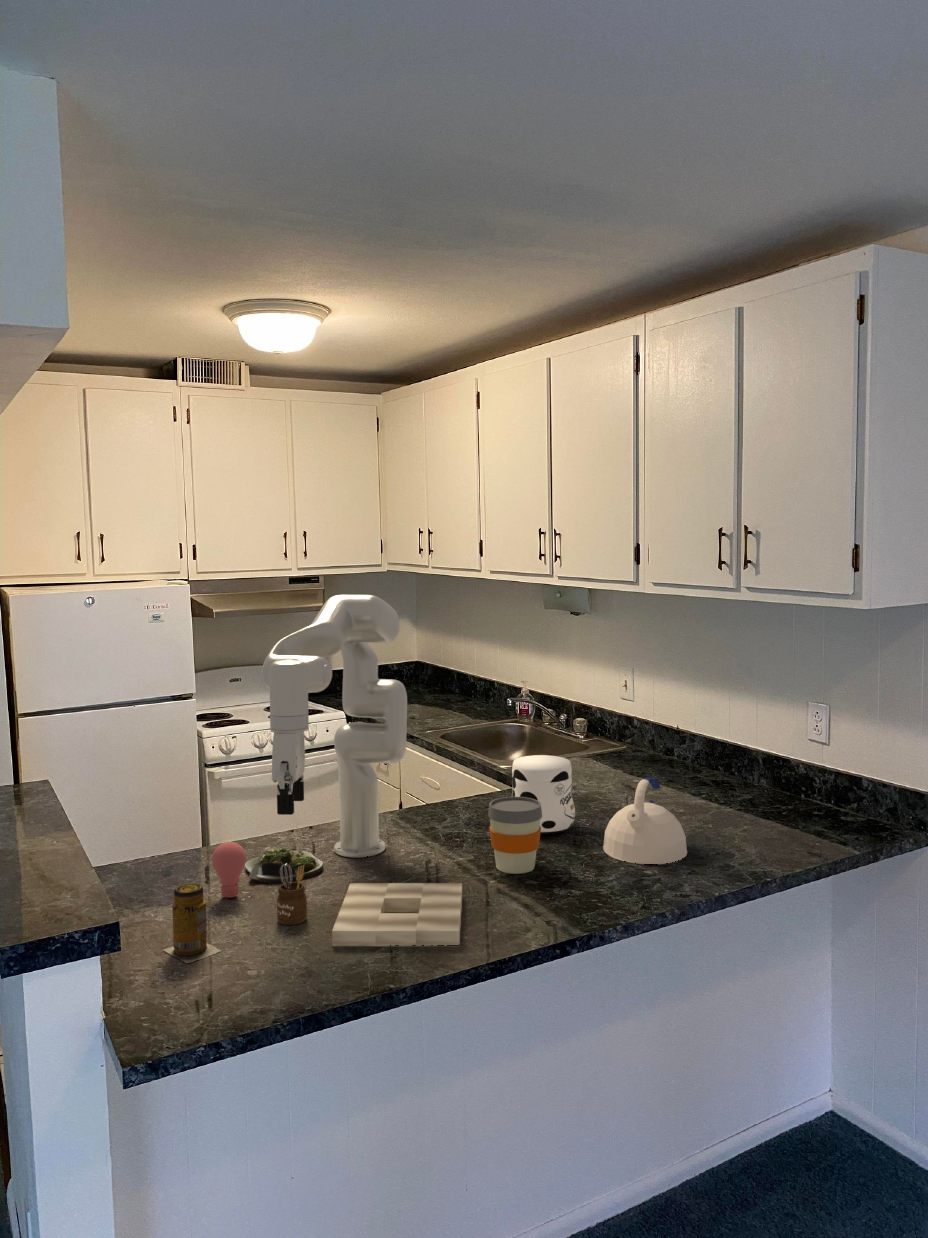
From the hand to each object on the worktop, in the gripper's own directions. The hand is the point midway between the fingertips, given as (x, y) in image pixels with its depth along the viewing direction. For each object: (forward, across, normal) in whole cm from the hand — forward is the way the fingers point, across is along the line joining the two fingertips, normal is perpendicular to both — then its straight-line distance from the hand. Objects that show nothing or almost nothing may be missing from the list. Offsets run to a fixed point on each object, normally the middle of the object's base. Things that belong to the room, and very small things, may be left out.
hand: (291, 807), depth 184 cm
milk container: (+22, -58, +54) cm, 82 cm away
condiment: (+24, +14, -16) cm, 32 cm away
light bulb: (+23, -12, -16) cm, 31 cm away
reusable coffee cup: (+23, -30, +46) cm, 59 cm away
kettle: (+23, -41, +78) cm, 91 cm away
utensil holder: (+23, 0, 0) cm, 23 cm away
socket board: (+23, 0, +22) cm, 32 cm away
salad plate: (+23, -28, -8) cm, 37 cm away
